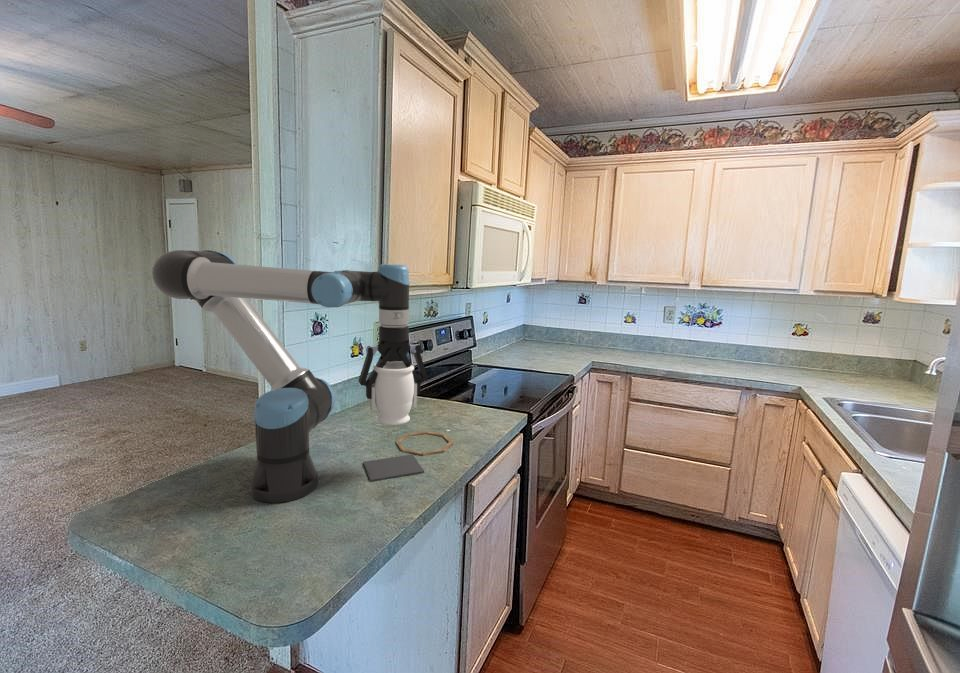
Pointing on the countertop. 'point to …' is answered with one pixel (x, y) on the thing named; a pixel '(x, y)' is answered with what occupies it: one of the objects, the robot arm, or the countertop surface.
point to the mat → (392, 467)
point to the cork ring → (427, 451)
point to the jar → (394, 392)
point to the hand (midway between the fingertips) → (393, 408)
